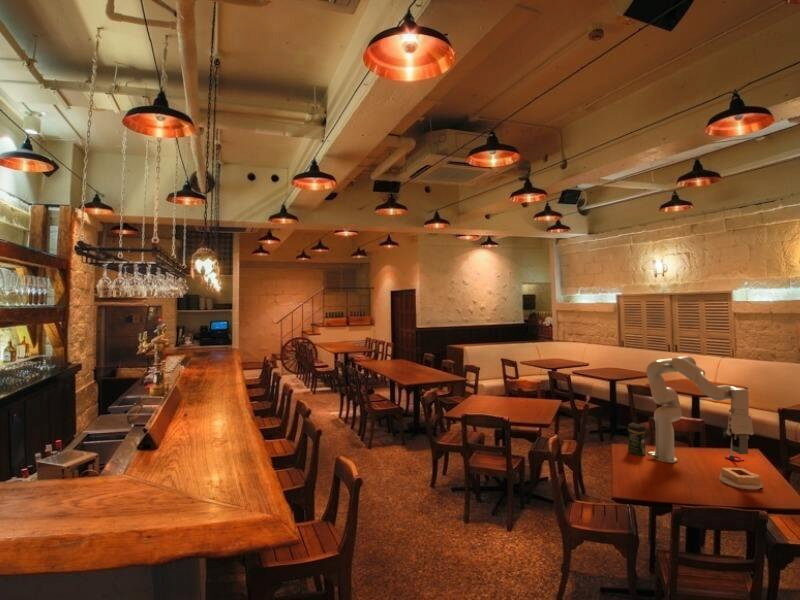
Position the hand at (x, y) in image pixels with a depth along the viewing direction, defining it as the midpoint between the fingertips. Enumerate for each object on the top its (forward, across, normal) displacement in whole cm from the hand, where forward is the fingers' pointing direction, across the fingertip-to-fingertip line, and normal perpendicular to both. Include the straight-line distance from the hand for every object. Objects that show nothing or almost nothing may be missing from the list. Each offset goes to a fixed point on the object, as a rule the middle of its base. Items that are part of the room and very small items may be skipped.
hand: (739, 446), depth 238 cm
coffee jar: (+19, -33, +44) cm, 58 cm away
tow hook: (+20, +21, +36) cm, 46 cm away
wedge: (+3, 0, 0) cm, 3 cm away
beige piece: (+19, 0, 0) cm, 19 cm away
